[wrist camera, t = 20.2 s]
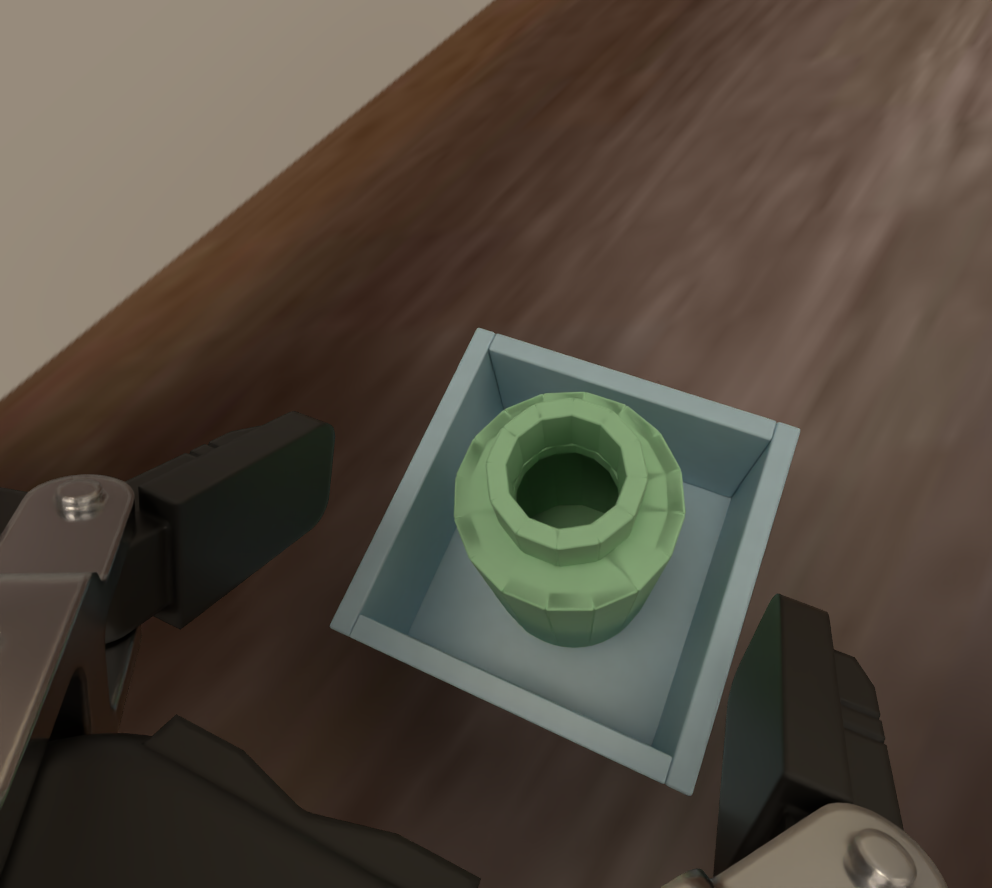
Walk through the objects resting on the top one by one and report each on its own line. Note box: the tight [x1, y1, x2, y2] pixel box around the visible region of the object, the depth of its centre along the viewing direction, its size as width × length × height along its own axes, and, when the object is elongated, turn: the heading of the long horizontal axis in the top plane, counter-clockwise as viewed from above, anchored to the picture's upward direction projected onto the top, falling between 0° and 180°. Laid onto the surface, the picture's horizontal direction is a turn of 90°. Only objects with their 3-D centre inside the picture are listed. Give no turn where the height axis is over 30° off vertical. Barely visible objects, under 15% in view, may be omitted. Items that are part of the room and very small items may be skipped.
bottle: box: [454, 392, 686, 648], centre depth 17 cm, size 5×5×10 cm
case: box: [330, 328, 800, 796], centre depth 19 cm, size 9×9×6 cm
